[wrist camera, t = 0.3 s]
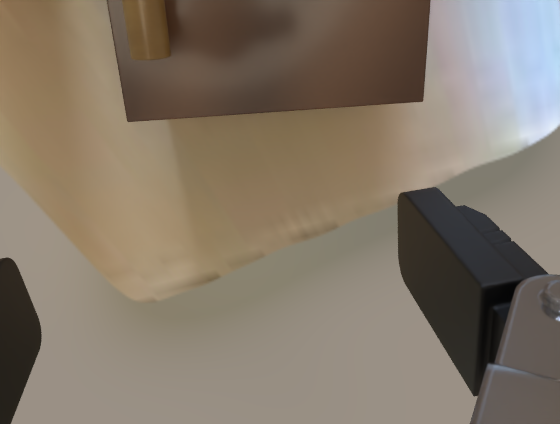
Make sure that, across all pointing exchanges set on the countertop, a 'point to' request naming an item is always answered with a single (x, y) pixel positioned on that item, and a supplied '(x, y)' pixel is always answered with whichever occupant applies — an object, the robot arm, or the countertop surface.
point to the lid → (266, 55)
